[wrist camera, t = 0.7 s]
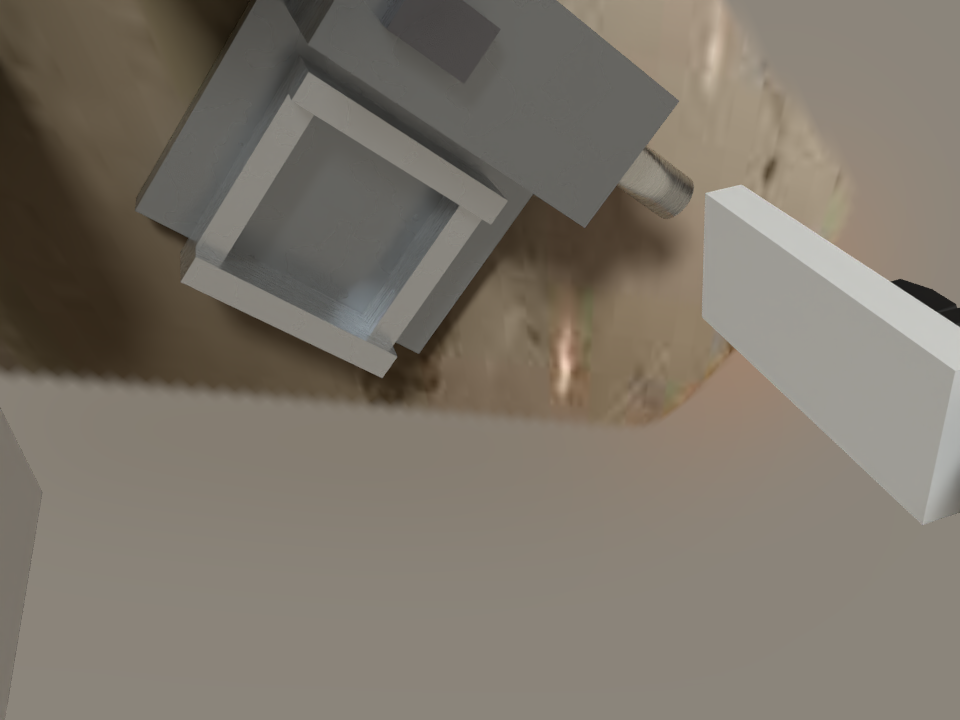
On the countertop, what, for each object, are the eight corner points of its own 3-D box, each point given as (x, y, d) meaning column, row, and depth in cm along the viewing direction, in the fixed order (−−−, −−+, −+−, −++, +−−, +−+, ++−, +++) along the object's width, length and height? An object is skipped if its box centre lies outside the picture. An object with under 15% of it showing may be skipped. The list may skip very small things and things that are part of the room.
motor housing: (128, 211, 38) (114, 317, 30) (344, -164, 33) (397, -160, 25) (464, 380, 46) (524, 497, 38) (671, 101, 42) (788, 167, 34)
